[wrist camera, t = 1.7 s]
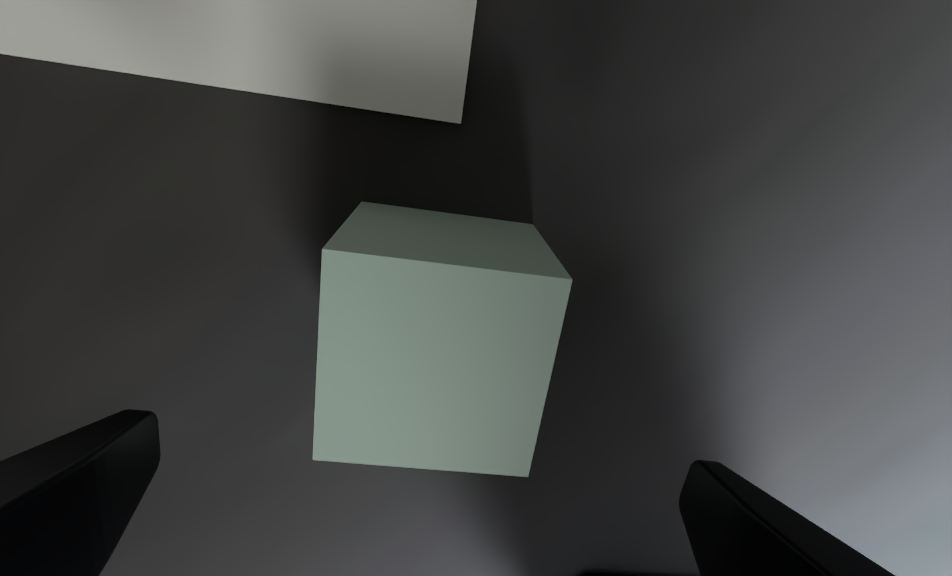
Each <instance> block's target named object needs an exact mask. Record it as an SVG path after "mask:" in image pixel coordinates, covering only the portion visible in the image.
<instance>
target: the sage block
mask: <svg viewBox="0 0 952 576" xmlns="http://www.w3.org/2000/svg"><path fill="white" fill-rule="evenodd" d="M572 280H573V279H572V278H571V277H570V275H569V274H568V272H567V271H566V270H565V268H564V267H563V265H562V264H561V263H560V261H559V260H558V258H557V257H556V256H555V254H554V253H553V252H552V250H551V249H550V247H549V246H548V245H547V243H546V242H545V240H544V239H543V238H542V236H541V235H540V233H539V232H538V231H537V229H536V228H535V226H534V225H533V224H527V223H520V222H512V221H505V220H497V219H490V218H482V217H475V216H467V215H460V214H452V213H445V212H437V211H430V210H422V209H415V208H407V207H400V206H392V205H385V204H377V203H370V202H363V201H362V202H361V203H360V204H359V205H358V206H357V208H356V209H355V210H354V211H353V212H352V214H351V215H350V216H349V217H348V218H347V220H346V221H345V222H344V223H343V224H342V226H341V227H340V228H339V229H338V230H337V232H336V233H335V234H334V235H333V236H332V237H331V239H330V240H329V241H328V242H327V243H326V245H325V246H324V247H323V248H322V260H321V283H320V305H319V328H318V350H317V372H316V395H315V417H314V440H313V460H320V461H332V462H345V463H357V464H370V465H383V466H395V467H408V468H420V469H433V470H445V471H458V472H470V473H483V474H495V475H508V476H520V477H528V476H529V471H530V467H531V462H532V458H533V453H534V449H535V445H536V440H537V436H538V431H539V427H540V422H541V418H542V413H543V409H544V405H545V400H546V396H547V391H548V387H549V382H550V378H551V373H552V369H553V365H554V360H555V356H556V351H557V347H558V342H559V338H560V333H561V329H562V325H563V320H564V316H565V311H566V307H567V302H568V298H569V293H570V289H571V285H572Z"/></svg>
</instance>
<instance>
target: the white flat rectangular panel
mask: <svg viewBox="0 0 952 576" xmlns="http://www.w3.org/2000/svg"><path fill="white" fill-rule="evenodd" d="M476 4H477V0H0V54H6V55H12V56H19V57H26V58H32V59H39V60H45V61H52V62H58V63H65V64H71V65H78V66H85V67H91V68H98V69H104V70H111V71H117V72H124V73H131V74H137V75H144V76H150V77H157V78H163V79H170V80H176V81H183V82H190V83H196V84H203V85H209V86H216V87H222V88H229V89H236V90H242V91H249V92H255V93H262V94H268V95H275V96H281V97H288V98H295V99H301V100H308V101H314V102H321V103H327V104H334V105H341V106H347V107H354V108H360V109H367V110H373V111H380V112H386V113H393V114H400V115H406V116H413V117H419V118H426V119H432V120H439V121H445V122H452V123H459V124H461V119H462V112H463V104H464V96H465V89H466V81H467V73H468V66H469V58H470V50H471V43H472V35H473V27H474V20H475V12H476Z"/></svg>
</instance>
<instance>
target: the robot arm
mask: <svg viewBox="0 0 952 576" xmlns="http://www.w3.org/2000/svg"><path fill="white" fill-rule="evenodd" d="M159 461H160V441H159V429H158V419H157V416H156V414H155V413H153V412H152V411H143V410H132V409H127V410H123V411H121V412H118V413H116V414H113V415H111V416H108V417H106V418H104V419H101V420H99V421H96V422H94V423H92V424H89V425H87V426H84V427H82V428H79V429H77V430H75V431H72V432H70V433H67V434H65V435H63V436H60V437H58V438H55V439H53V440H50V441H48V442H46V443H43V444H41V445H38V446H36V447H34V448H31V449H29V450H26V451H24V452H22V453H19V454H17V455H14V456H12V457H9V458H7V459H5V460H2V461H0V576H99V575H100V573H101V571H102V570H103V568H104V567H105V565H106V563H107V562H108V560H109V558H110V557H111V555H112V553H113V551H114V549H115V548H116V546H117V544H118V542H119V540H120V538H121V536H122V535H123V533H124V531H125V529H126V527H127V525H128V523H129V521H130V519H131V518H132V516H133V514H134V512H135V510H136V508H137V506H138V504H139V502H140V501H141V499H142V497H143V495H144V493H145V491H146V489H147V487H148V485H149V484H150V482H151V480H152V478H153V476H154V474H155V472H156V470H157V468H158V465H159ZM679 508H680V513H681V516H682V519H683V522H684V525H685V528H686V532H687V535H688V538H689V541H690V544H691V547H692V550H693V554H694V557H695V560H696V563H697V566H698V569H699V572H700V575H701V576H895V575H893V574H892V573H890V572H889V571H887V570H886V569H884V568H882V567H881V566H879V565H878V564H876V563H875V562H873V561H872V560H870V559H868V558H867V557H865V556H864V555H862V554H861V553H859V552H858V551H856V550H854V549H853V548H851V547H850V546H848V545H847V544H845V543H844V542H842V541H841V540H839V539H837V538H836V537H834V536H833V535H831V534H830V533H828V532H827V531H825V530H823V529H822V528H820V527H819V526H817V525H816V524H814V523H813V522H811V521H809V520H808V519H806V518H805V517H803V516H802V515H800V514H799V513H797V512H795V511H794V510H792V509H791V508H789V507H788V506H786V505H785V504H783V503H782V502H780V501H778V500H777V499H775V498H774V497H772V496H771V495H769V494H768V493H766V492H764V491H763V490H761V489H760V488H758V487H757V486H755V485H754V484H752V483H750V482H749V481H747V480H746V479H744V478H743V477H741V476H740V475H738V474H736V473H735V472H733V471H732V470H730V469H729V468H727V467H726V466H724V465H722V464H721V463H719V462H715V461H704V460H697V461H694V462H693V463H692V464H691V466H690V468H689V471H688V474H687V477H686V480H685V483H684V485H683V488H682V491H681V494H680V498H679ZM580 576H634V575H618V574H601V573H585V574H583V575H580Z"/></svg>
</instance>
